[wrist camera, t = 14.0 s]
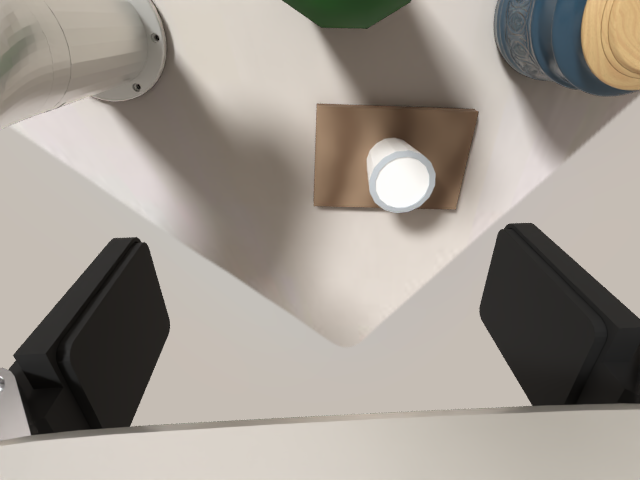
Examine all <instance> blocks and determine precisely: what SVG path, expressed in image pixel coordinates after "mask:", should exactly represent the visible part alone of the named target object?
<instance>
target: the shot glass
mask: <svg viewBox="0 0 640 480" xmlns="http://www.w3.org/2000/svg"><path fill="white" fill-rule="evenodd" d="M367 173H368V182H369V191H370V194H371V196H372V198H373V200H374V202H375V203H376V204H377V205H378V206H380V207H381V208H382V209H384V210H386V211H390V212H394V213H401V212H409V211H411V210H413V209H415V208H418V207H420V206H421V205H422V204H423V203H424V202H425V201H426V200H427V199H428V198H429V197H430V195H431V193H432V191H433V189H434V187H435V175H436V173H435V171H434V168H433V166H432V163H431V162H430V161H429V160H428V159H427V158H426V157H425V156H424V155H422V154H421V153H420V152H419V151H417V150H416V149H414V148H413V147H412V146H410V145H409V144H408V143H406V142H405V141H404V140H401V139H397V138H387V139H384V140H382V141H380V142H378V143H376V144H375V145H374V146H373V148H372V149H371V150H370V151H369V154H368V157H367Z"/></svg>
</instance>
